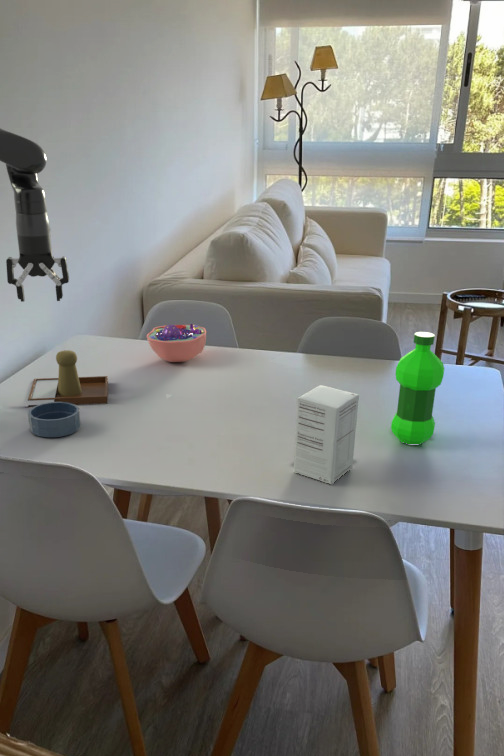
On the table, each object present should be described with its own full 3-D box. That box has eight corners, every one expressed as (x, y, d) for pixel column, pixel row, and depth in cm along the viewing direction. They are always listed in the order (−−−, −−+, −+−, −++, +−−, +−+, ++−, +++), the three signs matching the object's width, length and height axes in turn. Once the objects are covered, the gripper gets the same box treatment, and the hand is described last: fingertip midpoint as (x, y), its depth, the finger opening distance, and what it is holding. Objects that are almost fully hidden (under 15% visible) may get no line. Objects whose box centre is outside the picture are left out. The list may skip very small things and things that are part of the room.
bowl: (28, 440, 157) (25, 421, 155) (33, 420, 167) (31, 402, 165) (79, 437, 159) (77, 419, 157) (81, 418, 169) (80, 400, 167)
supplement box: (315, 457, 152) (320, 383, 145) (353, 468, 148) (360, 393, 140) (291, 473, 145) (295, 396, 138) (331, 486, 141) (337, 407, 133)
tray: (28, 407, 175) (27, 399, 174) (34, 385, 188) (34, 378, 187) (107, 403, 178) (107, 396, 177) (108, 382, 191) (107, 375, 190)
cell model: (220, 355, 215) (220, 319, 210) (181, 373, 199) (180, 334, 194) (175, 346, 223) (174, 310, 218) (134, 362, 207) (132, 325, 202)
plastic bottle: (378, 438, 162) (390, 332, 151) (410, 428, 168) (423, 325, 157) (411, 454, 155) (426, 344, 144) (443, 443, 160) (459, 336, 150)
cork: (56, 397, 180) (52, 355, 175) (58, 388, 185) (54, 348, 180) (81, 396, 181) (77, 354, 176) (82, 387, 186) (78, 347, 181)
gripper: (-1, 235, 162) (8, 305, 169) (63, 234, 164) (69, 303, 171) (4, 230, 169) (12, 297, 176) (65, 230, 171) (71, 296, 178)
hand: (41, 300), depth 174 cm, fingers open, 8 cm apart
